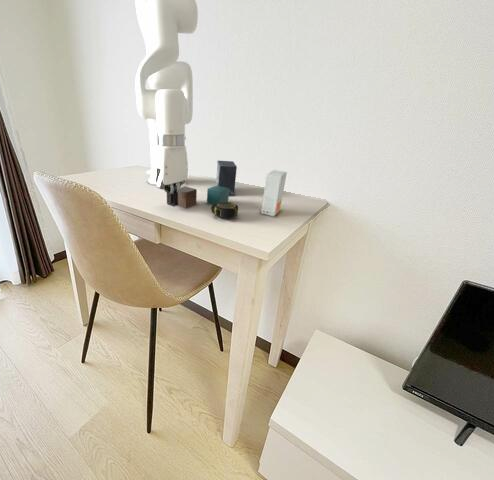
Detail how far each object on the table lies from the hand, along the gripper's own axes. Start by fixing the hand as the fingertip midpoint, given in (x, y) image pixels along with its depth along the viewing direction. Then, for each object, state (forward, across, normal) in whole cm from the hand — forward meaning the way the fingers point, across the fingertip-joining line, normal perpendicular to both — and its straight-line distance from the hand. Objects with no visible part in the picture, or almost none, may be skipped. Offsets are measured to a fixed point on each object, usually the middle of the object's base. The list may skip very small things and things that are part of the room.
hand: (172, 204), depth 79 cm
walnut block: (+1, -6, 0) cm, 6 cm away
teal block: (+1, -14, +7) cm, 16 cm away
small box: (+2, -27, +1) cm, 27 cm away
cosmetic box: (+2, -18, +24) cm, 30 cm away
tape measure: (+2, -6, +15) cm, 16 cm away
